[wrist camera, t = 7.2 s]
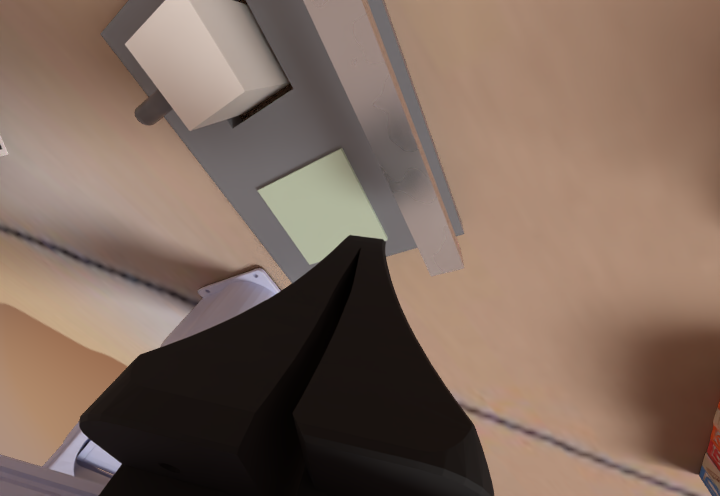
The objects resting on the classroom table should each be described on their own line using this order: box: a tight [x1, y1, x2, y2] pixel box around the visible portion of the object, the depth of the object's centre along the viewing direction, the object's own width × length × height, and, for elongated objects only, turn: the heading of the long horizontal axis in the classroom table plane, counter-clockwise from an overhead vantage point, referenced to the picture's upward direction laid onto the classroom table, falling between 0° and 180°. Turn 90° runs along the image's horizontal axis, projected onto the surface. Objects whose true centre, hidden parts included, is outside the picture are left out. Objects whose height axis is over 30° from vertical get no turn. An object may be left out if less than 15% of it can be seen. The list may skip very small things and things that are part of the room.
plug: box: [125, 0, 290, 131], centre depth 15 cm, size 8×4×6 cm, turn 117°
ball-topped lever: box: [303, 0, 464, 276], centre depth 11 cm, size 14×2×2 cm, turn 27°
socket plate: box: [101, 0, 464, 283], centre depth 16 cm, size 15×20×6 cm
